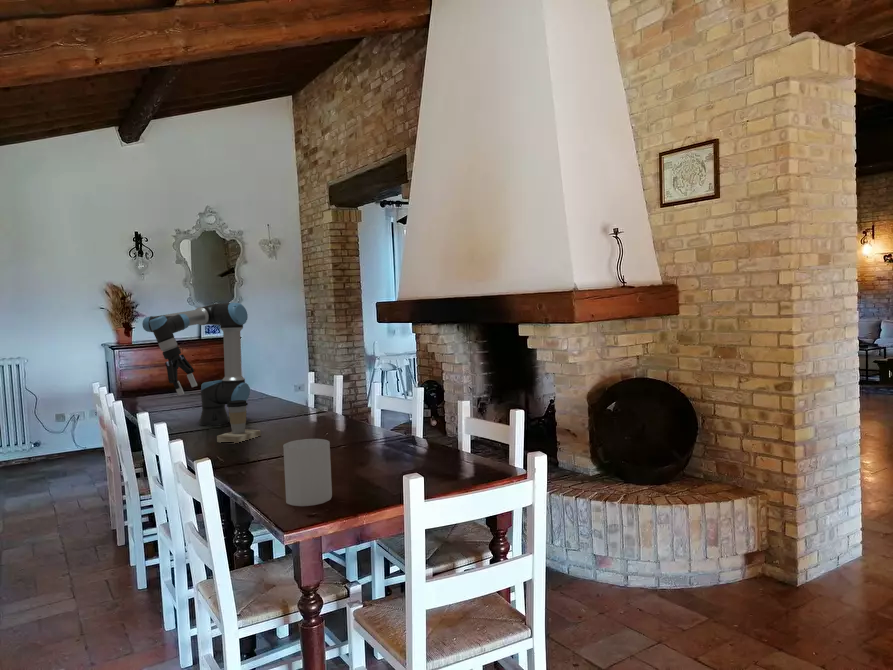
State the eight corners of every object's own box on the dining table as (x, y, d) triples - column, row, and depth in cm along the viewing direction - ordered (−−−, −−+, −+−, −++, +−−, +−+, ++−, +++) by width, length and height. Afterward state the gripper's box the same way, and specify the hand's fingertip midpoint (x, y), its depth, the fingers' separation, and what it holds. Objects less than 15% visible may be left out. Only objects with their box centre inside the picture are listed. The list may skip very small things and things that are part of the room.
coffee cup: (225, 432, 305) (223, 401, 305) (245, 430, 311) (243, 399, 310) (232, 435, 298) (230, 403, 297) (252, 432, 304) (250, 401, 303)
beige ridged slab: (241, 435, 314) (240, 429, 314) (260, 436, 309) (260, 430, 309) (217, 442, 299) (216, 435, 299) (237, 443, 295) (237, 437, 294)
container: (296, 509, 196) (293, 451, 195) (278, 499, 208) (275, 443, 207) (339, 499, 204) (337, 443, 204) (320, 490, 216) (317, 436, 215)
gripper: (175, 345, 312) (193, 385, 316) (149, 357, 288) (168, 401, 291) (189, 340, 311) (206, 380, 315) (163, 352, 287) (183, 396, 290)
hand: (188, 390), depth 303 cm, fingers open, 13 cm apart
